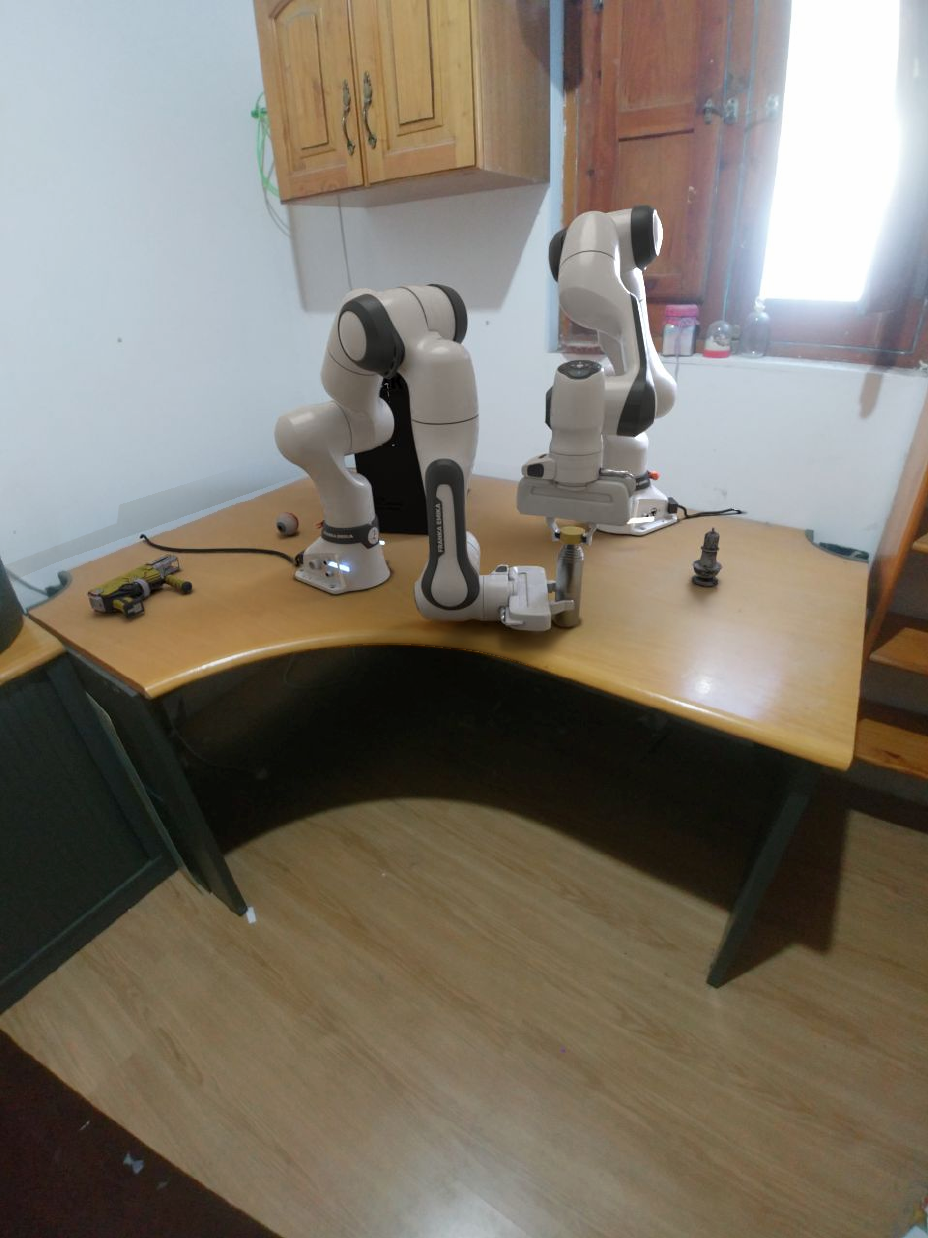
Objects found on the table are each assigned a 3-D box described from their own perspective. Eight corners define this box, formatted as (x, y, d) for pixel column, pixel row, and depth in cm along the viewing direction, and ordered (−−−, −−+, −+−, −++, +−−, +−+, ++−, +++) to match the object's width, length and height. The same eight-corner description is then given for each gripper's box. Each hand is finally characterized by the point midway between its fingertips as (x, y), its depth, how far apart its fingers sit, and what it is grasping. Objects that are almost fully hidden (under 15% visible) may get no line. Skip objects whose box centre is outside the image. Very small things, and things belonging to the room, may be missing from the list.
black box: (436, 534, 159) (422, 349, 137) (364, 531, 164) (339, 351, 141) (468, 489, 191) (460, 332, 168) (407, 487, 195) (391, 335, 173)
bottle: (557, 613, 120) (562, 527, 111) (581, 617, 118) (588, 530, 109) (550, 624, 116) (555, 536, 107) (574, 629, 115) (582, 540, 106)
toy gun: (216, 562, 143) (165, 551, 147) (137, 606, 123) (80, 592, 127) (219, 580, 145) (169, 569, 149) (142, 626, 125) (86, 611, 129)
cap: (588, 542, 108) (589, 532, 107) (566, 546, 107) (567, 536, 106) (577, 534, 111) (577, 524, 110) (555, 537, 110) (556, 527, 109)
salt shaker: (721, 586, 126) (731, 533, 120) (692, 585, 127) (700, 532, 121) (717, 574, 131) (726, 522, 125) (688, 573, 132) (696, 521, 126)
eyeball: (273, 537, 164) (268, 516, 161) (287, 528, 169) (282, 508, 166) (291, 539, 161) (286, 518, 158) (305, 530, 166) (301, 510, 163)
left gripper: (498, 609, 105) (578, 608, 104) (499, 560, 123) (568, 559, 122) (499, 640, 108) (577, 639, 107) (500, 588, 126) (567, 587, 125)
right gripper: (641, 466, 100) (633, 543, 107) (526, 456, 108) (525, 528, 115) (632, 477, 95) (624, 557, 102) (512, 465, 104) (513, 540, 111)
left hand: (572, 596), depth 115 cm, fingers closed on bottle, 5 cm apart
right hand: (571, 541), depth 109 cm, fingers closed on cap, 4 cm apart
